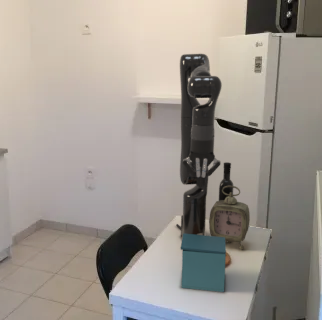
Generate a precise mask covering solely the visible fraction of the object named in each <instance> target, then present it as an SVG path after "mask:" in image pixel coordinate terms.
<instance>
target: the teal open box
mask: <svg viewBox="0 0 322 320" xmlns="http://www.w3.org/2000/svg"><path fill="white" fill-rule="evenodd" d="M181 252H182V253H181V254H182V255H181V257H182V258H181V265H182V266H181V289H192V290H198V291H199V290H200V291H209V292H218V293H219V292H221V293H225V281H226V279H225V277H226V258H227V257H226V255H227V253H226V254H218V253H209V252H199V251H189V250H181Z"/></svg>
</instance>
